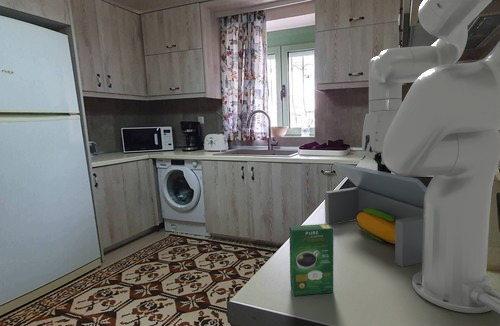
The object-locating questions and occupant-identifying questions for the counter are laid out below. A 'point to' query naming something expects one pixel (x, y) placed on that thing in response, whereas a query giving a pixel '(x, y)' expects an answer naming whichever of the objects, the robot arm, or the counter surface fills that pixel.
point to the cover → (385, 183)
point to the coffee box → (311, 259)
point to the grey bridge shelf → (405, 214)
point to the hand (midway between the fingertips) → (384, 178)
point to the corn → (377, 224)
